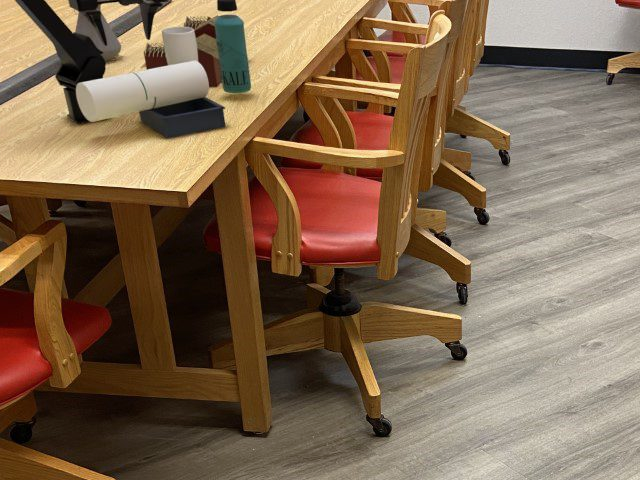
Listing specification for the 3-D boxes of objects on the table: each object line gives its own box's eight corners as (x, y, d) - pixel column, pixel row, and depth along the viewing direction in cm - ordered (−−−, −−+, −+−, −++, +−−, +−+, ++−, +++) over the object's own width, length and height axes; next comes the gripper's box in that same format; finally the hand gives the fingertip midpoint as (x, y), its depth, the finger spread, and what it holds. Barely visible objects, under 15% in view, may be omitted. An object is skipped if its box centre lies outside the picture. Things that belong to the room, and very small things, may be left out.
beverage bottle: (240, 90, 220) (227, -6, 208) (259, 96, 217) (248, -2, 205) (217, 96, 216) (203, -2, 204) (236, 102, 213) (223, 3, 201)
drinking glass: (202, 98, 215) (191, 25, 206) (208, 106, 210) (197, 32, 201) (171, 101, 212) (158, 27, 203) (176, 109, 208) (164, 34, 199)
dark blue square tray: (166, 139, 192) (162, 118, 189) (139, 122, 200) (135, 102, 198) (227, 127, 199) (225, 107, 196) (199, 111, 207) (196, 92, 204)
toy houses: (229, 87, 222) (223, 39, 216) (139, 86, 222) (130, 38, 216) (259, 41, 258) (254, -1, 252) (181, 40, 258) (175, -2, 252)
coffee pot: (78, 54, 244) (63, -12, 235) (125, 52, 246) (113, -13, 237) (67, 76, 227) (51, 6, 218) (117, 74, 229) (104, 5, 220)
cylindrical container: (96, 129, 187) (207, 104, 201) (96, 97, 181) (210, 74, 196) (76, 107, 189) (187, 83, 203) (75, 74, 183) (190, 53, 198)
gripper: (79, -32, 182) (97, 56, 191) (172, -41, 191) (185, 44, 201) (58, -40, 189) (77, 45, 198) (149, -48, 198) (163, 34, 208)
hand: (127, 42), depth 201 cm, fingers open, 9 cm apart
